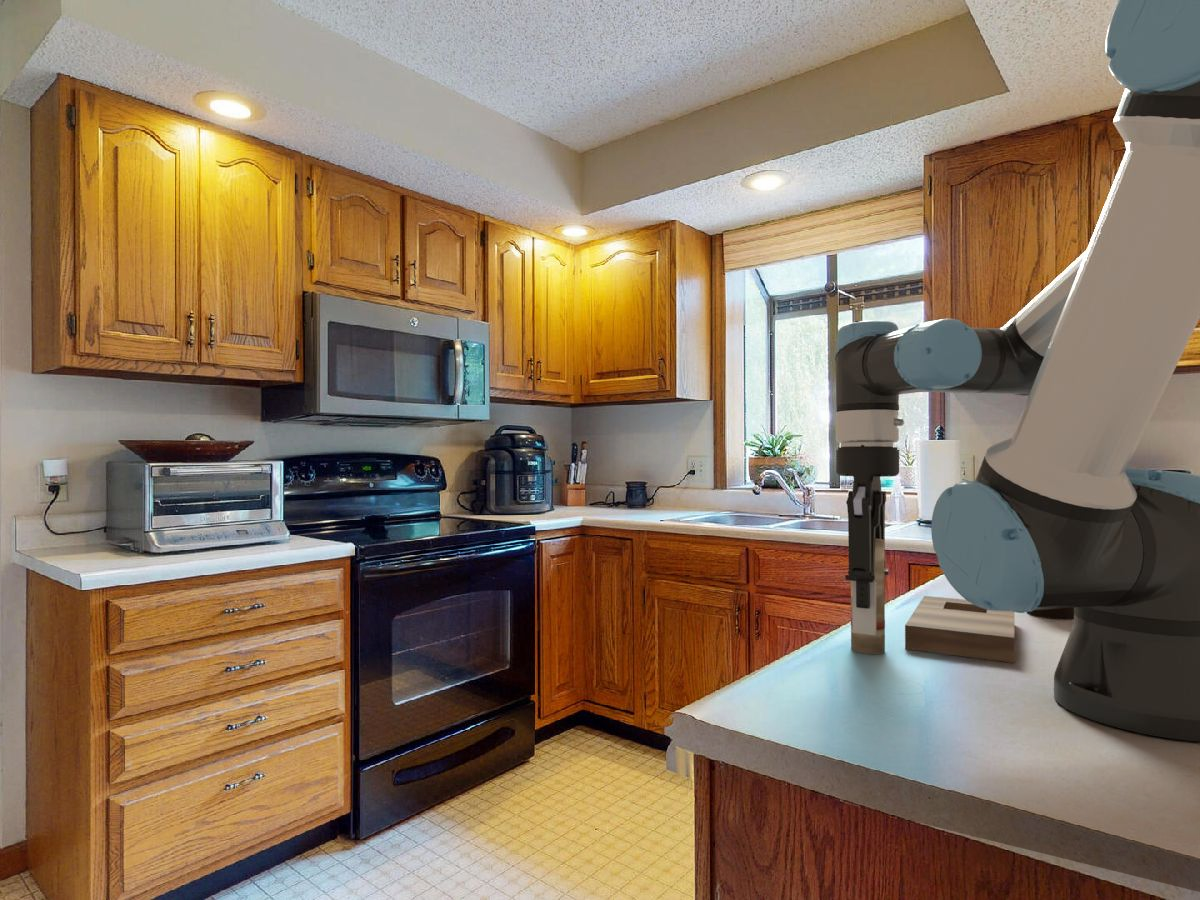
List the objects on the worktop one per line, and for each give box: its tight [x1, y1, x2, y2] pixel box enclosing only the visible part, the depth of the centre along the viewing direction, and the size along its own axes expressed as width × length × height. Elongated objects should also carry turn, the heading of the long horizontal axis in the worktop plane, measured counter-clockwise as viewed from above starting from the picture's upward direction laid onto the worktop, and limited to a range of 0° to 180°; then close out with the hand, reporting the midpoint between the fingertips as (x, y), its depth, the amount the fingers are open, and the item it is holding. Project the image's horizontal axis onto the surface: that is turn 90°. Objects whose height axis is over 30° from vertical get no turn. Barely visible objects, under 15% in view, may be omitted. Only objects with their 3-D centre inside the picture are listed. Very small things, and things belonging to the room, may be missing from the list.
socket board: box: [904, 595, 1015, 664], centre depth 95 cm, size 22×12×3 cm, turn 149°
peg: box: [850, 538, 886, 655], centre depth 89 cm, size 4×4×14 cm
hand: (867, 628), depth 88 cm, fingers closed on peg, 4 cm apart
